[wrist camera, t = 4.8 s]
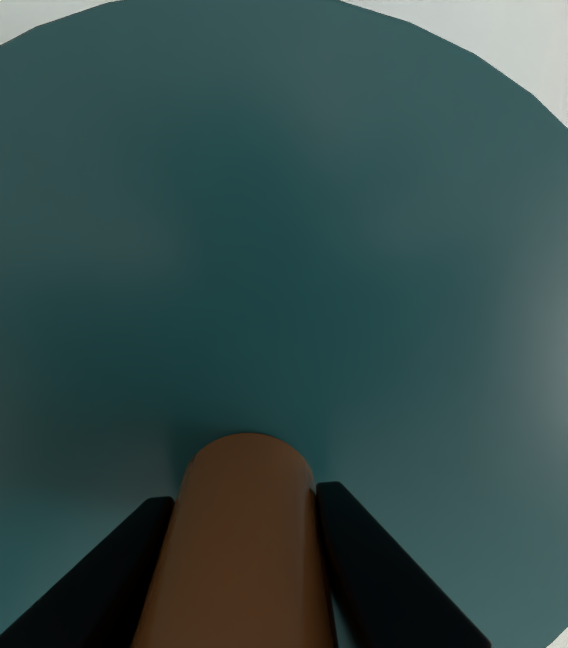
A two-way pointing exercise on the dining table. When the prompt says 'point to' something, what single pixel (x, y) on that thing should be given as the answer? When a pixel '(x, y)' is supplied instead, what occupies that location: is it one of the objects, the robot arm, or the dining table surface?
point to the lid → (280, 313)
